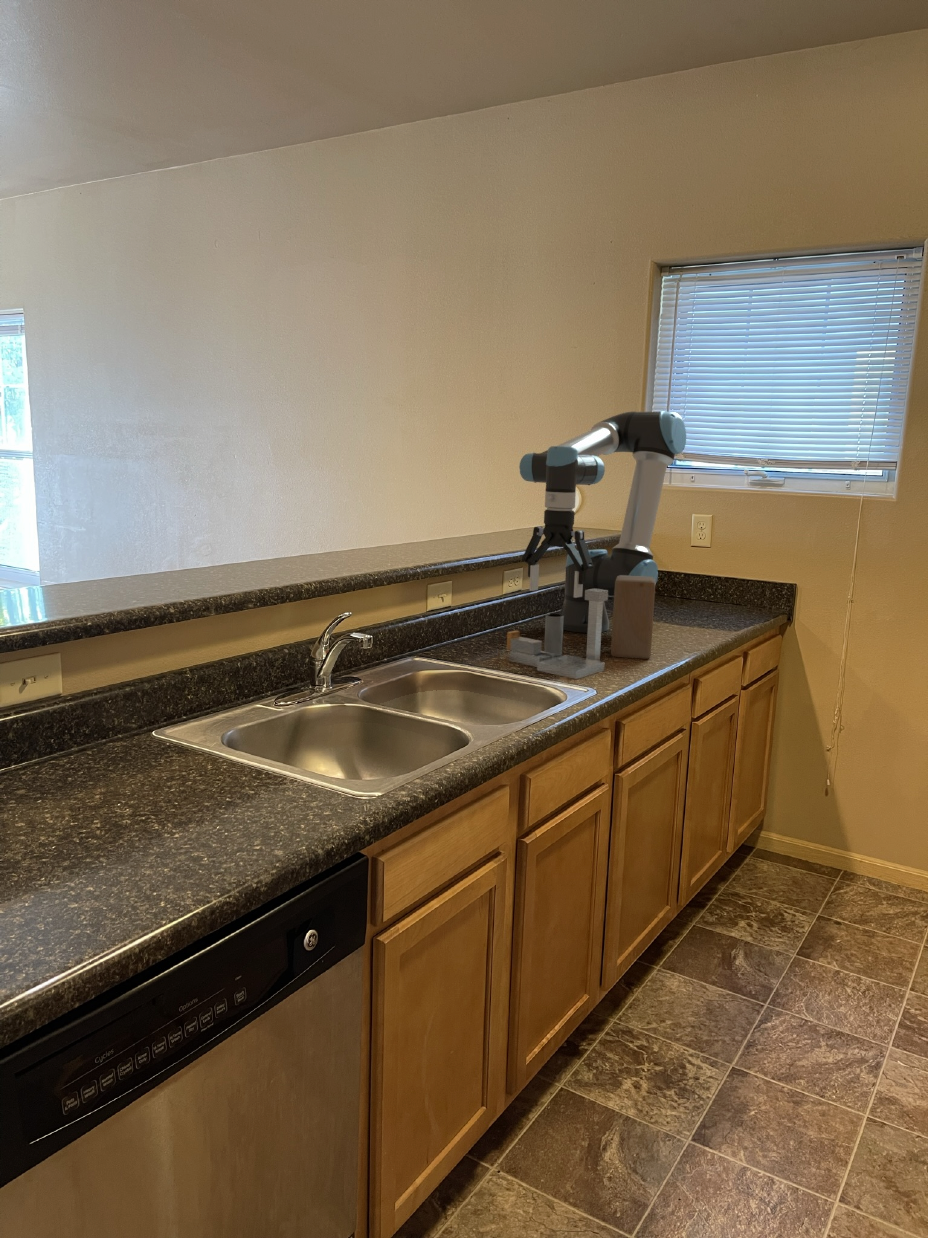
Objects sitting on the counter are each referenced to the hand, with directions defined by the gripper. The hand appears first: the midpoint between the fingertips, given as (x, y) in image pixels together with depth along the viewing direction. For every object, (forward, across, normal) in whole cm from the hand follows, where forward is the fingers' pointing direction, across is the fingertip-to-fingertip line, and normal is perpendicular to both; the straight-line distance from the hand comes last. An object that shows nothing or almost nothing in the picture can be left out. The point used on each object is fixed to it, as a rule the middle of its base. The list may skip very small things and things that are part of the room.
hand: (555, 593), depth 231 cm
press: (+16, +8, -8) cm, 19 cm away
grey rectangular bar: (+13, -1, -11) cm, 17 cm away
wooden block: (+16, +14, +15) cm, 26 cm away
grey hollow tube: (+16, 0, 0) cm, 16 cm away
